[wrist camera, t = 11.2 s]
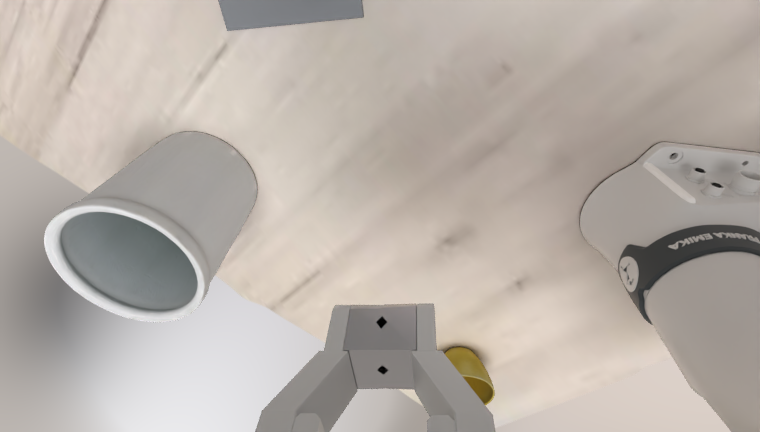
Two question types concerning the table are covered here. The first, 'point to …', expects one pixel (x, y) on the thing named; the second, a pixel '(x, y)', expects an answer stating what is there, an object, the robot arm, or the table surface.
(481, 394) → the flower pot
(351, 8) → the mat
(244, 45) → the table surface
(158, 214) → the utensil holder
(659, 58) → the table surface
